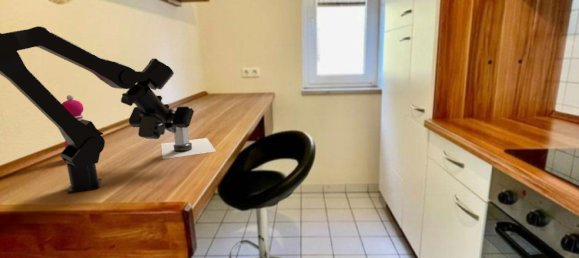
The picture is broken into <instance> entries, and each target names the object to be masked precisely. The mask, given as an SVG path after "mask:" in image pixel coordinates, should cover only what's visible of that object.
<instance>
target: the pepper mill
mask: <svg viewBox="0 0 579 258" xmlns="http://www.w3.org/2000/svg"><path fill="white" fill-rule="evenodd" d="M61 104H62V105H63V106H64V107H65V108H66V109H67V110H68V111H69V112H70V113H71V114H72V115H73V116H74V117H75V118H76V119H77V120H79V121H81V119H84V115H83V114H82V113H83V112H84V105H83V103H82V102H81V101H79V100H77V99H74V96H73V95H71V94H68V95H67V96H66V100H65V101H63V102H62V103H61ZM64 140H65V139H64ZM67 145H68V143H67V142H66V140H65V141H64V149H65V148H66V146H67Z"/></svg>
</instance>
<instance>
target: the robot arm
mask: <svg viewBox="0 0 579 258" xmlns="http://www.w3.org/2000/svg"><path fill="white" fill-rule="evenodd" d="M31 48H39V49H41V50H44V51H45V52H47V53H49V54H52V55H54V56H57V57H58V58H60V59H63V60H65V61H67V62H70V64H71V63H72V64H73V65H75V66H78V67H79V68H82V69H84V70H85V71H87V72H90V73H92V74H93V75H94V76H96V78H98V79H99V80H101V82H104V84H106V85H108V86H109V87H111V88H114V89H119V90H120V89H121V90H127V91H126V92H123V93H122V94H121V95H122V96H121V98H120V102H121V104H125V105H127V106H129V107H132V105H135V107H133V109H132V112H131V113H130V116H129V118H128V123H129V125H130V126H131V127H132V128H138V133H137V134H138V137H140V138H143V139H146V140H152V139H153V140H159V139H160V137H161V136H164V135H165V133H166V131H168V132H170V133H172V134H174V133H176V127H178V128H187V127H188V128H189V127H190V125H191V122H192V118H193V115H194V113H195V111H194V109H193V108H192V107H191V106H190V105H185V106H184V105H183V106H181V105H180V106H177V107H176V110H175V109H174V108H170V105H169V104H167V103H165V104H164V103H163V101H162V100H163V97H162V95H156V93H155V92H154V91H156V90H162V89H163V88H164V87H165V85H166V84H167V83H168V81H169V80H170V79H171V78H172V77H173V76H174V74H175V72H174V71H173V69H172V68H171V67H170V66H169V65H166V64H165V63H163V62H162V61H160V60H159V59H158V58H155V57H154V58H151V59H150V61H149V62H148V63H147V64H146V66H145V67H144V68H143V70H142V71H140V70H138V71H136V70H135V69H134V68H133V67H131V66H130V65H129V66H128V65H126V64H123V63H120V62H117V61H113V60H109V59H105V58H102V57H100V56H98V55H96V54H95V53H92V52H91V51H89V50H86V49H85V48H83V47H81V46H79V45H77V44H75V43H73V42H71V41H69V40H68V39H65V38H63V37H61V36H59V35H58V34H55V33H53V32H51V31H50V30H49V29H48V28H46V27H43V26H34V27H30V28H27V29H22V30H16V31H11V32H4V33H3V32H2V33H1V32H0V76H2V77H3V78H5V79H6V80H8V81H9V82H10V83H11V84H12V85H13V86H14V87H15V88H16V89H17V90H18V91H19V92H20V93H21V94H22V95H23V96H24V97H25V98H27V99H28V100H29V101H30V102H31V103H32V104H33V106H35V107H36V108H37V109H38V110H39V111H40V112H41V113H42V114H43V116H45V117H46V118H47V119H48V120H49V121H50V122H51V123H52V124H54V125H55V126H56V128H57V129H58V130H59V132H60V134H61V136H62V137H63V139H64V140H66V142H67V143H68V145H67V146H66V148H65V147H64V149H63V150H62V151H61V152H60V153H59V156H60V158H61V159H62V161H63V162H64V163H67V164H66V167H67V173H68V177H69V182H70V183H69V184H70V186H69V187H68V189H67V190H66V193H67V194H71V193H78V192H83V191H89V190H95V189H96V190H97V189H99V188H100V185H101V183H102V181H103V179H102V178H101V177H100V178H99V177H98V171H97V170H98V169H97V166H96V164H98V163H99V159H100V155H101V153H102V151H103V150H104V148H105V143H106V141H105V138H104V137H103V135H104V132H102V131H100V130H98V129H97V127H96V125H95V124H94V123H93V121H91V120H87V119H84V118H83V119H81V121H79V120H77V119H76V118H75V117H74V116H73V115H72V114H71V113H70V112H69V111H68V110H67V109H66V108H65V107H64V106H63V105H62V103H61V102H60V101H59V100H58V98H57V97H56V96H54V95H53V94H52V93H51V92H50V91H49V89H48V88H47V87H45V85H44V84H43V83H42V82H41V81H40V80H39V79H38V78H37V77H36V76H35V75H34V74H33V73H32V72H31V71H30V70H29V69H28V68H27V67H26V65H25V63H24V60H23V59H22V57H21V55H20V53H19V52H18V51H23V50H27V49H31Z"/></svg>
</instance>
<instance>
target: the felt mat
mask: <svg viewBox="0 0 579 258" xmlns="http://www.w3.org/2000/svg"><path fill="white" fill-rule="evenodd" d="M189 142H190V143H191V144H192V150H190V151H186V152H175V151H174V144H175V141H172V142H166V143H160V146H161V156H162V160H166V159H172V158H173V159H174V158H179V157H180V158H181V157H188V156H194V155H200V154H208V153H213V152H217V150H216V148H215V147H214V146H213V144H212V143H211V142H210V140H209V139H208V137H205V138H197V139H189Z"/></svg>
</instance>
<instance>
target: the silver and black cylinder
mask: <svg viewBox="0 0 579 258" xmlns="http://www.w3.org/2000/svg"><path fill="white" fill-rule="evenodd" d="M173 136H174V142H175V144H174V151H175V152H186V151H190V150H192V144H191V143H190V142H189V140H190V135H189V126H188V127H187V128H178V127H176V133H173Z"/></svg>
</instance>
